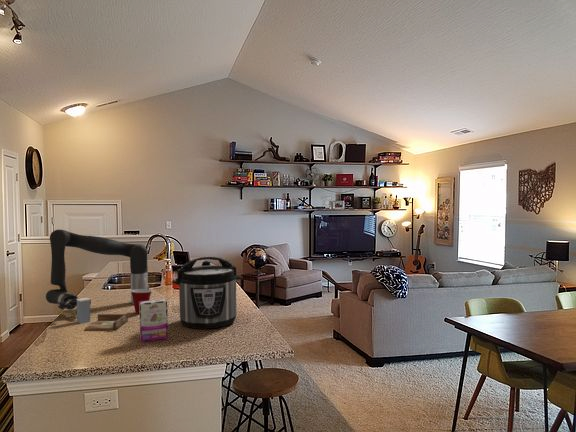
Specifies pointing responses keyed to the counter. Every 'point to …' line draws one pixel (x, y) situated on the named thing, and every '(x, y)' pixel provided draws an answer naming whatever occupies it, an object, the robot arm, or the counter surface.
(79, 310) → the block
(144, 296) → the plastic cup
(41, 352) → the counter surface
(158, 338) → the candy bar box
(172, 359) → the counter surface
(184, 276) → the pressure cooker
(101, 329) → the shallow wooden tray
